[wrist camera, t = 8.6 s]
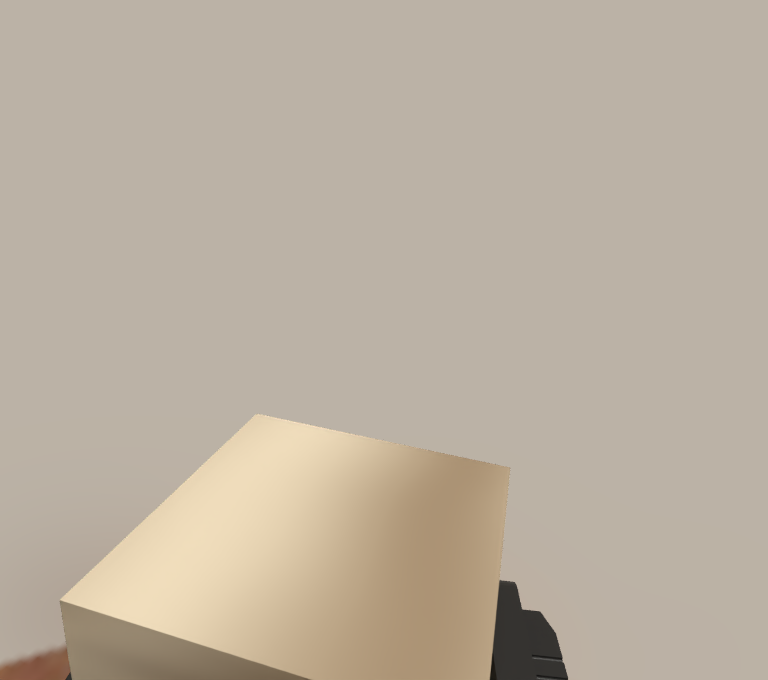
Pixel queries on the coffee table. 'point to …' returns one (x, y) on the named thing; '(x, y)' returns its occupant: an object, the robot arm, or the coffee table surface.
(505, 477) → the maple pillar block
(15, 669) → the coffee table surface
